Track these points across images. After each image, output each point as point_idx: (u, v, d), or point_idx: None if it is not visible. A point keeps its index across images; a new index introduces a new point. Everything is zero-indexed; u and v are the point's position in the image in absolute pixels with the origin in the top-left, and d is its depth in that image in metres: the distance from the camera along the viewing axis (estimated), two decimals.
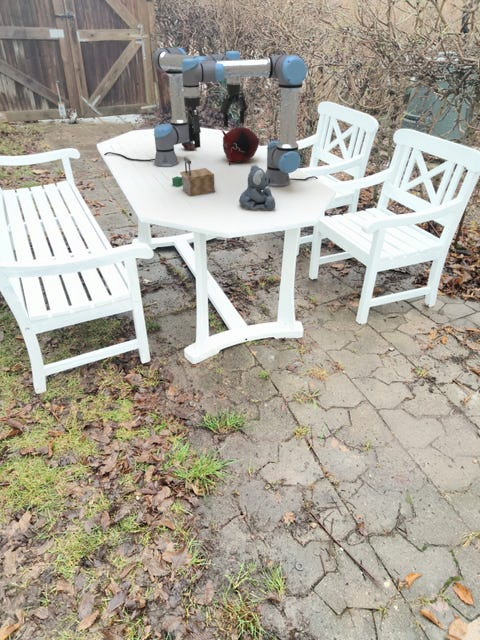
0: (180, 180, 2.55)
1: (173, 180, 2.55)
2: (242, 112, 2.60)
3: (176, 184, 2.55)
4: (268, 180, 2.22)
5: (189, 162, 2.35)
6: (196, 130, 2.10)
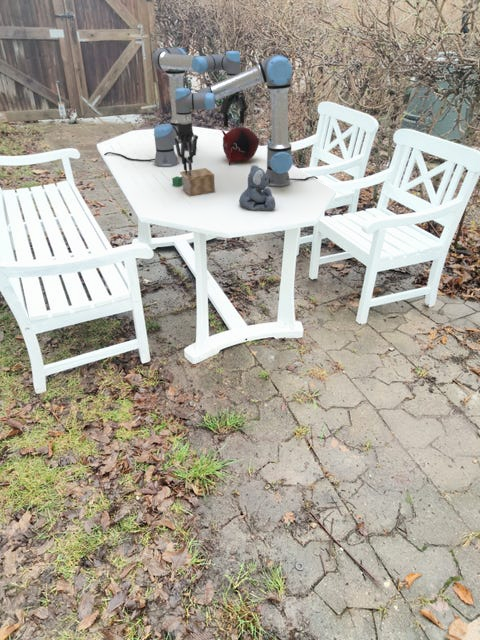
0: (180, 180, 2.55)
1: (173, 180, 2.55)
2: (242, 112, 2.60)
3: (176, 184, 2.55)
4: (268, 180, 2.22)
5: (189, 162, 2.35)
6: None
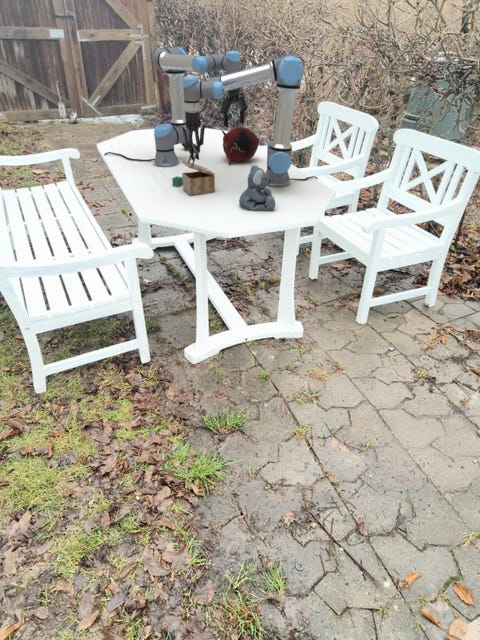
0: (180, 180, 2.55)
1: (173, 180, 2.55)
2: (242, 112, 2.60)
3: (176, 184, 2.55)
4: (268, 180, 2.22)
5: (196, 152, 2.34)
6: None
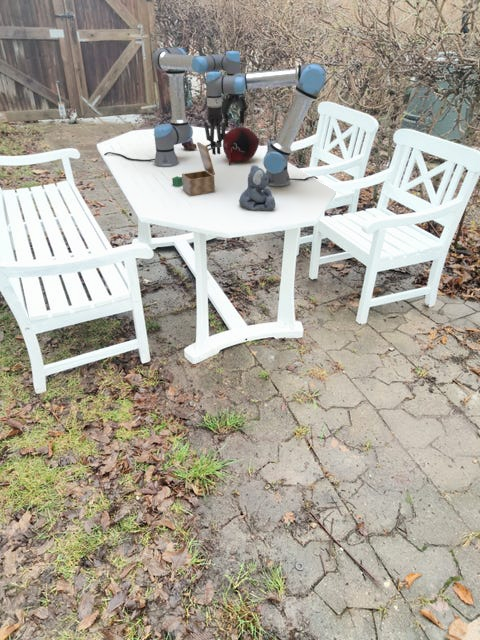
0: (180, 180, 2.55)
1: (173, 180, 2.55)
2: (242, 112, 2.60)
3: (176, 184, 2.55)
4: (268, 180, 2.22)
5: (218, 145, 2.38)
6: None
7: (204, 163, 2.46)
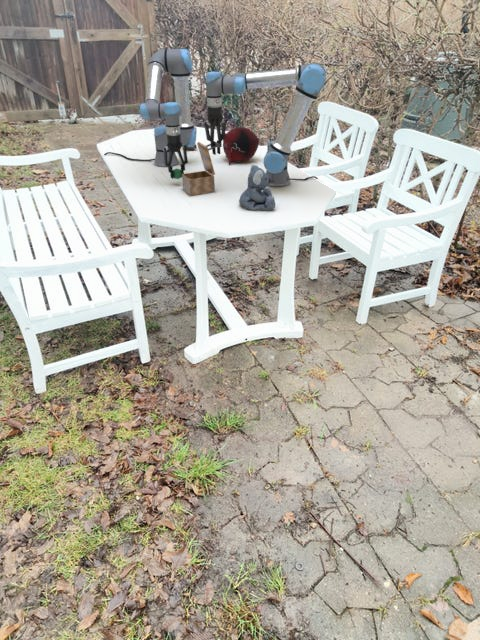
0: (179, 172, 2.53)
1: None
2: (181, 166, 2.53)
3: (175, 176, 2.53)
4: (268, 180, 2.22)
5: (218, 145, 2.38)
6: None
7: (204, 163, 2.46)
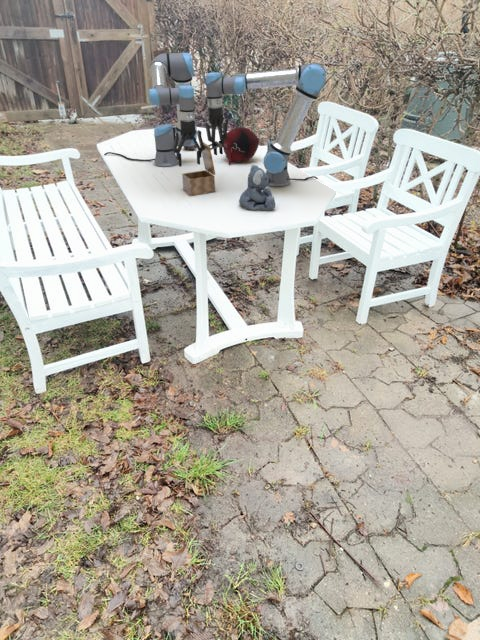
0: None
1: None
2: (198, 153, 2.38)
3: None
4: (268, 180, 2.22)
5: (220, 146, 2.38)
6: None
7: (205, 162, 2.46)
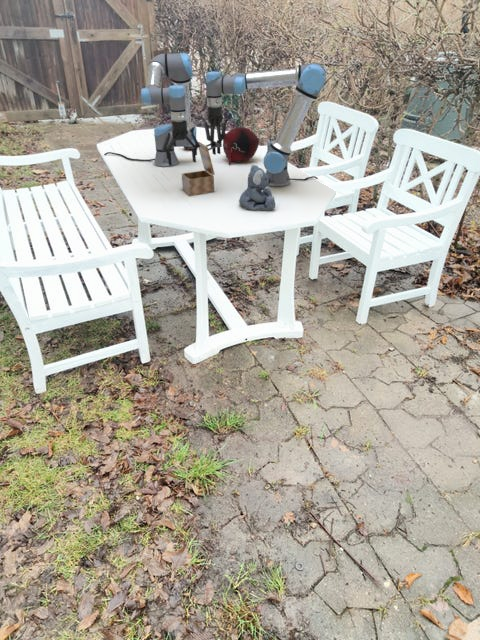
0: None
1: None
2: (193, 150, 2.36)
3: None
4: (268, 180, 2.22)
5: (218, 145, 2.38)
6: None
7: (204, 163, 2.46)
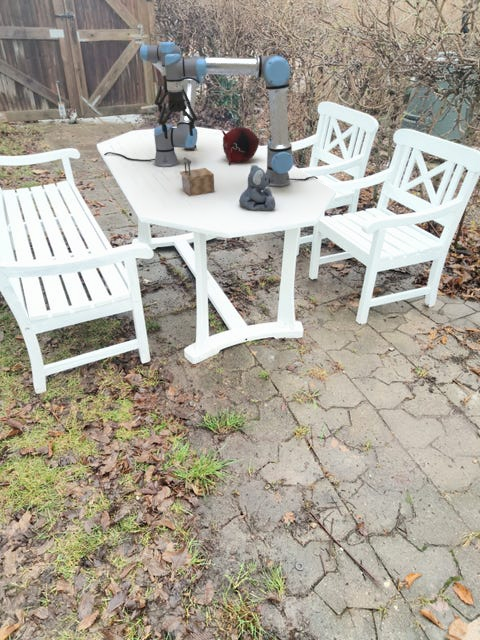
0: None
1: None
2: None
3: None
4: (268, 180, 2.22)
5: (189, 162, 2.36)
6: None
7: None
